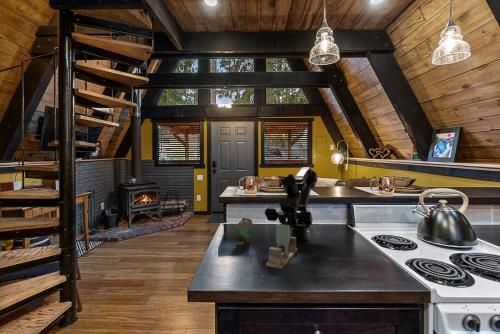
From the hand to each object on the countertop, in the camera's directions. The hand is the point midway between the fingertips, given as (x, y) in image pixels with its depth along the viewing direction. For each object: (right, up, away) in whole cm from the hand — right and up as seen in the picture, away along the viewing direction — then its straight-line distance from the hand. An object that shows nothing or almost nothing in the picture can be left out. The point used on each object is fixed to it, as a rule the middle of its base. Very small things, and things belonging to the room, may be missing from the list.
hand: (283, 234), depth 104 cm
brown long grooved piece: (0, -9, 0) cm, 9 cm away
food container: (-15, -8, +17) cm, 24 cm away
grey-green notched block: (0, -6, -1) cm, 6 cm away
